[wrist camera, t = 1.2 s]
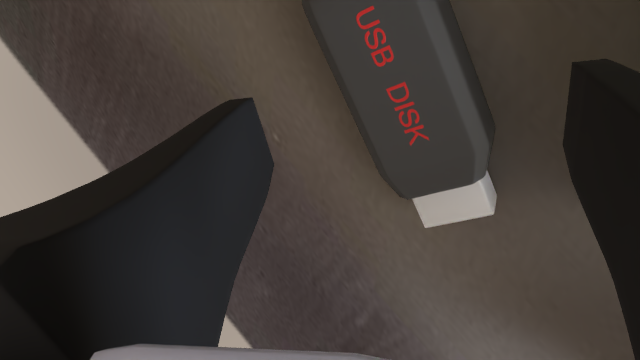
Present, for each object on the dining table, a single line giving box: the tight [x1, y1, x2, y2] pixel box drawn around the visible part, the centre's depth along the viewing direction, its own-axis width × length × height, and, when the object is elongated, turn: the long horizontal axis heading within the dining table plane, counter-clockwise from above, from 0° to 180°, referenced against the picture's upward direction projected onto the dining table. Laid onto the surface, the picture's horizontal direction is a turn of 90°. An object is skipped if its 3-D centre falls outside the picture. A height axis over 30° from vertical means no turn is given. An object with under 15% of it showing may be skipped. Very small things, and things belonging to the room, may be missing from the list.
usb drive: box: [302, 0, 497, 228], centre depth 21 cm, size 5×12×3 cm, turn 28°
